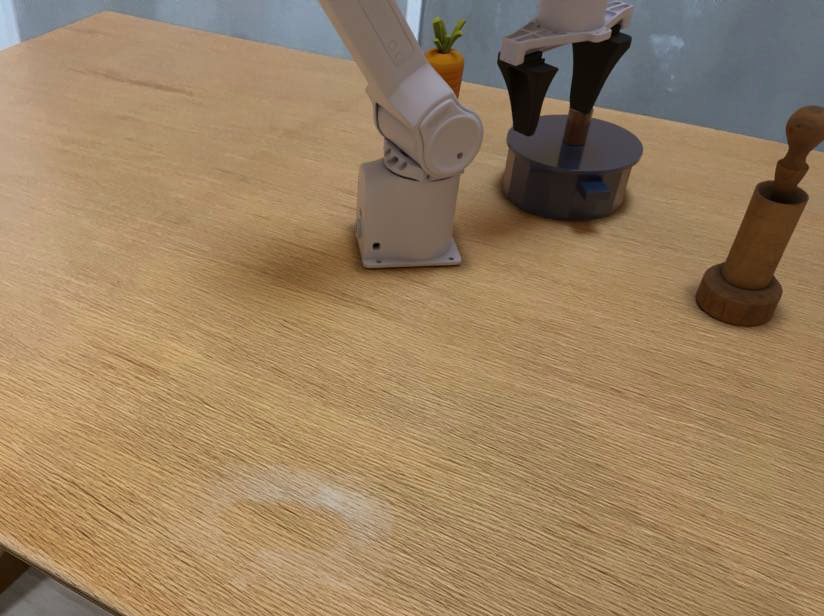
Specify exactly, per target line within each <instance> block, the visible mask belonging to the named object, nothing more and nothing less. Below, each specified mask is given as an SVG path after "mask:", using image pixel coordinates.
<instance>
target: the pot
mask: <svg viewBox="0 0 824 616" xmlns="http://www.w3.org/2000/svg"><path fill="white" fill-rule="evenodd" d="M632 168H633V167H631V168H629V169H627V170H624V171H621V172H617V173H613V174H606V175H572V174H564V173H558V172H554V171H549V170H546V169H542V168H539V167H536V166H534V165H531V164H529V163H527V162H525V161H523V160H521V159H520V158H518V157H517V156H516V155H514V154H513V153H512V152H511V151H510V149H509V148H508V150H507V156H506V161H505V167H504V172H503V178H502V182H501V183H502V184H501V186H502V192H503V195H504V196H505V197H506V199H507V200H508V201H509V202H510V203H511V204H513V205H514V206H516V207H517V208H518V209H520V210H523V211H525V212H527V213H529V214H532V215H535V216H538V217H542V218H545V219H549V220H550V219H551V220H558V221H566V222H583V221H593V220H598V219H601V218H604V217H608V216H609V215H612V214H613V213H614V212H615V211H617V210H618V209H619V208H620V206H621V204H622V202H623V201H624V197H625V193H626V189H627V186H628V183H629V180H630V175H631V172H632Z"/></svg>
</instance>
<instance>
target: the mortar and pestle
mask: <svg viewBox="0 0 824 616" xmlns="http://www.w3.org/2000/svg"><path fill="white" fill-rule="evenodd" d="M785 137H786V142H787V145H788V149H787V152H786V154H785V155H784V157H783V158H780V159H778V160H777V162H776V164H775V170H774V180H772V179H769V180H763V181H759V182H758V183H757V184H756V185H755V187H754V190H753V192H752V194H751V196H750V197H751V198H750V200H749V202H748V205H747V208H746V211H745V213H744V216H743V217H742V220H741V223H740V225H739V228H738V230H737V233H736V236H735V238H734V240H733V243H732V245H731V247H730V249H729V251H728V254H727V256H726V259H725V261H723V262H721V263H716V264H714V265H712V266H710V267H708V268H707V269H706V270H705V271H704V273H703V275H702V278H701V281H700V283H699V285H698V288H697V290H696V295H695V297H696V302H697V304H698V306H700V308H701V309H702V310H703V311H705V312H706V313H707V314H708V315H709V316H711V317H713V318H715V319H717V320H720V321H723V322H724V323H725V322H726V323H729V324H732V325H738V326H748V327H749V326H758V325H761V324H763V323H766V322H767V321H769V320H770V319H771V318H772V317H773V315H774V314H775V311H776V309H777V307H778V305H779V303H780V300H781V299H782V296H783V292H784V291H783V290H784V289H783V287H782V284H781V282H780V281H779V280H778V278H777V277H776V276H775V275H774V274H775V273H776V271H777V268H778V266H779V264H780V262H781V260H782V257H783V255H784V253H785V250H786V249H787V246H788V244H789V242H790V241H791V238H792V236H793V235H794V231H795V229H796V227H797V225H798V223H799V221H800V219H801V217H802V214H803V212H804V210H805V209H806V207H807V204H808V202H809V199H810V196H809V193H808V192H807V191H806V190H804V189H803V188H802V187H800V186H799V184H800V183H801V182H802V180H803V179H804V178H805V176H806V174H807V173H808V171H809V170H810V165H809V164H808V163H807V157H808V156H809V154H810V153H811V152H812V151H813V150H814V149H815V148H817V147H818V146H819V145H820V144H822V143H823V142H824V106H821V105H813V104H809V105H805V106H802V107H800V108H798V109H797V110H796V111H794V112H793V113H792V114H791V115H790V116H789V118H788V119H787V121H786V125H785Z"/></svg>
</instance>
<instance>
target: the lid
mask: <svg viewBox="0 0 824 616" xmlns="http://www.w3.org/2000/svg"><path fill="white" fill-rule="evenodd" d="M594 111H595V110H594V107H593V108H592V110H591V112H590V113H589V114H586V115H585V114H583V113H580V112H578V111H576V110H573V109H571V108H570V106H569V107H568V111H567V114H545V115H540V117H539V122H538V125H537V128H536V131H535V133H534V135H532V136H529V137H527V136H525V135H523V134H521V133H519V132H517V131H514V129H513V125H512V126H511V127H510V128H509V129H508V131H507V133H506V137H505V143H506V146H507V148H508V149H510V151H511V152H512V153H513V154H514V155H516V156H517V157H518V158H520V159H521V160H523V161H525V162H527V163H529V164H531V165H534V166H536V167H539V168H542V169H546V170H549V171H554V172H558V173H564V174H572V175H606V174H613V173H617V172H621V171H624V170H627V169H629V168H631V167H632V168H633V167H635V166H636V165H637V164H638V163H639V162H640V161H641V159H642V157H643V154H644V145H643V143H642V141H641V140H640V138H638V136H637V135H636V134H634V133H633V132H631V131H630V130H628V129H626V128H624V127H622V126H620V125H618V124H615V123H613V122H610V121H607V120H603V119H600V118H596V117H593V115H594Z"/></svg>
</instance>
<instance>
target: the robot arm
mask: <svg viewBox="0 0 824 616" xmlns="http://www.w3.org/2000/svg"><path fill="white" fill-rule="evenodd" d="M317 2H318V4H319V6H320V7H321V9H322V11H323V12H324V14H325V15H326V17H327V18H328V20H329V22H330V23H331V25H332V27H333V28H334V31H336V33H337V35H338V36H339V39H340V40H341V42H342V43H343V44H344V46H345V47H346V49H347V51H348V53H349V55H350V56H351V58H352V59H353V61H354V62H355V64H356V66H357V67H358V70H359V71H360V72H361V75H363V77H364V79H365V80H366V82H367V84H366V87H365V89H364V90H365V93H366V94H367V97H368V98H369V100H370V102H371V106H372V112H373V113H372V116H373V124H374V127H375V129H376V130H377V132H378V133H379V134H380V135H381V136H382V137H383V146H382V147H383V148H382V150H383V156H382V157H380V158H378V159H375V160H371V161H365V162H361V163H360V164H359V170H358V177H357V193H356V196H357V197H356V210H355V211H356V213H355V214H356V215H355V220H354V221H355V222H354V231H355V237H356V240H357V245H358V248H359V249H358V250H359V254H360V257H361V261H362V266H363V267H364V268H366V269H381V268H405V267H406V268H407V267H431V266H457V265H460V264H461V263H462V257H461V254H460V252H459V249H458V247H457V244H456V242H455V239H454V237H453V230H454V223H455V215H456V209H457V202H458V195H459V187H460V181H461V175H464V173H465V170H466V169H467V168H468V167H469V166H470V164H471V163H473V161H474V160H475V159H476V157H477V155H478V154H479V151H480V150H481V146H482V144H483V139H484V134H485V133H484V132H485V131H484V124H483V121H482V118H481V117H480V115H479V113H477V112H476V111H475V110H474V109H472V108H470V107H468V106H467V105H464V104H462V103H461V102H460V100H459V98H458V99H457V97H456V95H455V93H454V91H453V90H452V89H451V88H450V87H449V85H448V84H447V83H446V82H445V81H444V80H443V79H442V77H441V76H440V75H439V74H438V73H437V72H436V71H435V70H434V68H433V67H432V66H431V65H430V64H429V62H428V61H427V59H426V57H425V55H424V54H425V52H424V51H423V49H422V47H421V45H420V44H419V42H418V40H417V38H416V37H415V35H414V33H413V30H412V29H411V27H410V25H409V23H408V21H407V19H406V17H405V15H404V14H403V12H402V9H401V8H400V6H399V4H398V2H397V1H396V0H317ZM634 8H635V6H634V5H633V4H630V3H626V2H622V1H619V0H614V1H611V2H609V0H539V4H538V11H537V16H535V17H534V18H533V19H531V20H530V21H528V22H527V23H526V24H524V25H522V26H521V27H520V28H518V29H517V30H515V31H513V33H512V32H511V33H510V34H508V35H505V36H503V37H502V38H501V45H500V50H499V52H497V59H496V65H497V66H498V68H499V71H500V73H501V75H502V78H503V80H504V84H505V86H506V89H507V95H508V97H509V98H508V99H509V103H510V109H511V118H512V119H511V120H512V126H513V129H514V131H517V132H519V133H521V134H523V135H525V136H527V137H529V136H532V135H534V133H535V131H536V128H537V125H538V122H539V117H540V116H541V113H542V110H543V109H542V108H543V105H544V101H545V98H546V95H547V93H548V90H549V88H550V86H551V84H552V82H553V80H554V78H555V76H556V75H557V73H558V72H559V70H560V69H559V68H558V67H557V66H554V65H552V64H549V63H546V58H545V57H543V53H547V52H550V51H552V50H555V49H558V48H560V47H564V46H567V45H570V44H571V48H572V49H571V50H572V76H571V81H570V82H571V83H570V90H569V107H570V108H571V109H573V110H576V111H578V112H580V113H583V114H585V115H586V114H589V113H590V112H591V110H592V108H593V109H594V107H595V104H596V102H597V100H598V97H599V96H600V94H601V91H602V89H603V87H604V85H605V83H606V82H607V80H608V78H609V76H610V75H611V73H612V71H613V69H614V68H615V67H616V65H617V64H618V62H619V61H620V60H621V59H622V57H623V56H624V55H625V54H626V53H627V51H628V50H629V49H630V48H631V45H632V40H633V37H632V36H631V35H630V34H627V33H625V32H621V30H625V29H628V28H630V26H631V22H632V16H633V12H634Z"/></svg>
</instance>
